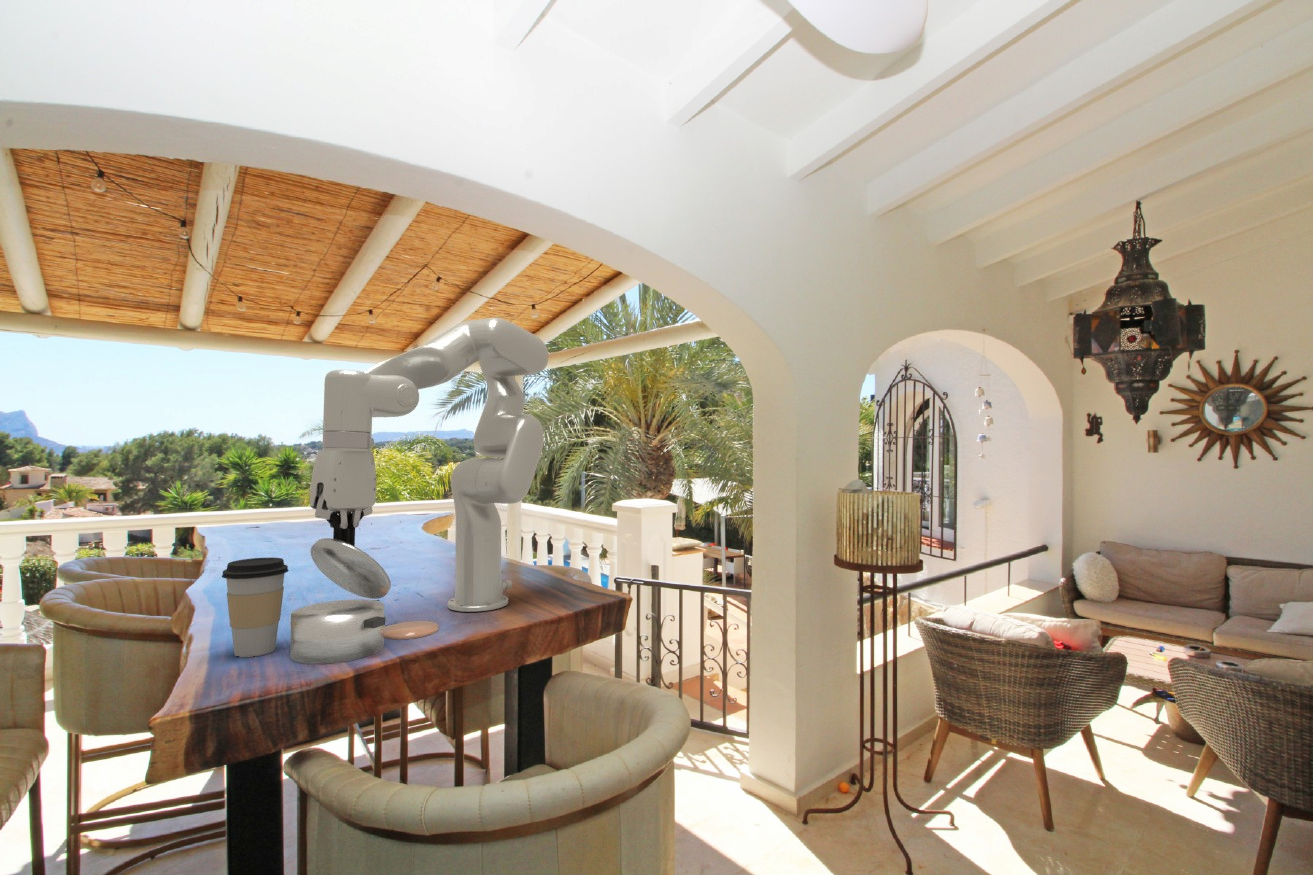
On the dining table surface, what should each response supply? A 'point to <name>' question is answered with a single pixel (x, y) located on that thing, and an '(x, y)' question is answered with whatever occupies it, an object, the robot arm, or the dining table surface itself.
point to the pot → (337, 631)
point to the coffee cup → (255, 603)
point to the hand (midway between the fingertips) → (343, 551)
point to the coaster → (410, 630)
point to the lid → (350, 568)
